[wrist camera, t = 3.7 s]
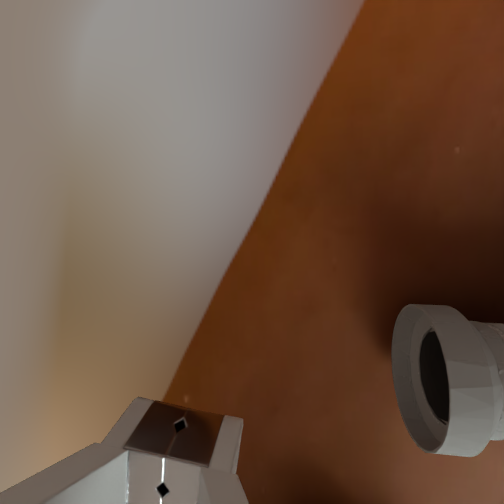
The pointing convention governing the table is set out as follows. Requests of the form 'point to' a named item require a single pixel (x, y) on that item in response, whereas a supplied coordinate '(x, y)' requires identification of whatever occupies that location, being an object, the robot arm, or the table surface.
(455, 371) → the digital camera
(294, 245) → the table surface
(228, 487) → the robot arm
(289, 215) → the table surface
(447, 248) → the table surface
